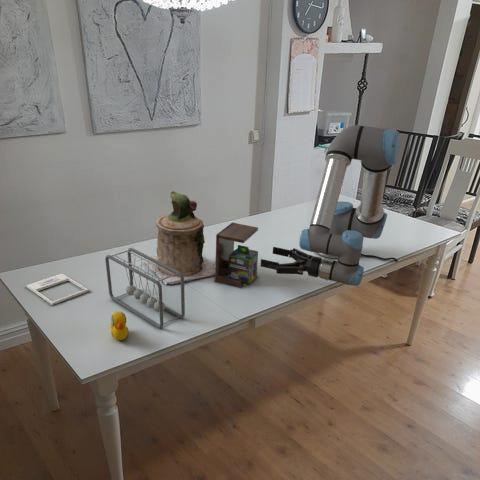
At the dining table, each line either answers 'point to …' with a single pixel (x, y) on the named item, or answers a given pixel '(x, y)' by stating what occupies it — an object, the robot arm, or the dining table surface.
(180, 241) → the cookie jar
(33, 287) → the photo frame
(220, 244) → the walnut rack
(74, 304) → the dining table surface
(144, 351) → the dining table surface
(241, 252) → the chalk box
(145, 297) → the newton's cradle
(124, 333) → the duckling
